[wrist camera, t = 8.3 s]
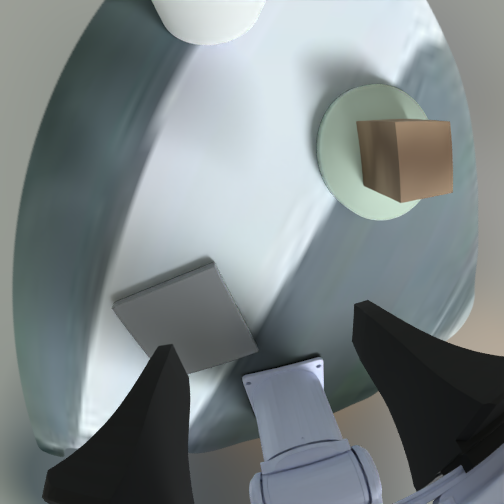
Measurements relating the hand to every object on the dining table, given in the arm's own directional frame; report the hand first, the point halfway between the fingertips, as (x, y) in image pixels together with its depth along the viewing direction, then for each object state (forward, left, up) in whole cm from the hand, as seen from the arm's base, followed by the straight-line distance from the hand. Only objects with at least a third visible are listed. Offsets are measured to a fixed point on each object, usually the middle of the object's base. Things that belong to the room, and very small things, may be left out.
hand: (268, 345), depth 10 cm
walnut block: (+5, -11, -9) cm, 15 cm away
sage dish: (+5, -11, -10) cm, 16 cm away
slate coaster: (-6, +6, -10) cm, 13 cm away
